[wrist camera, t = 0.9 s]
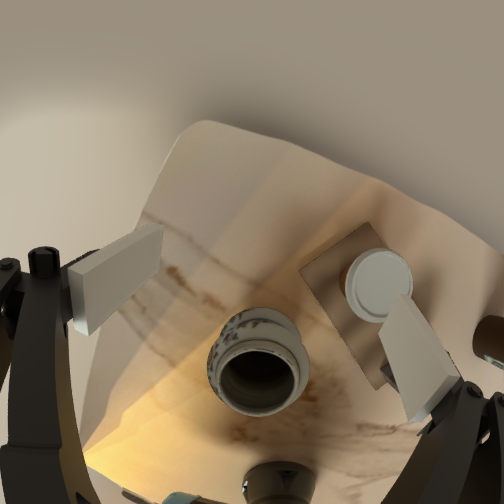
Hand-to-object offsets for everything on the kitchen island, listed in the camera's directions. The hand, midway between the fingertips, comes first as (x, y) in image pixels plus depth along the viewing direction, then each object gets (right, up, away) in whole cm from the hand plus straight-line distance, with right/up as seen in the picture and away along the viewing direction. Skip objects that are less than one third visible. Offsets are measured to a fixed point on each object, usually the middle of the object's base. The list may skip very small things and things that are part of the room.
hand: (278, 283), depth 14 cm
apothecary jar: (0, -12, +30) cm, 32 cm away
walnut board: (+19, -8, +28) cm, 35 cm away
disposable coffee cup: (+16, -3, +29) cm, 33 cm away
